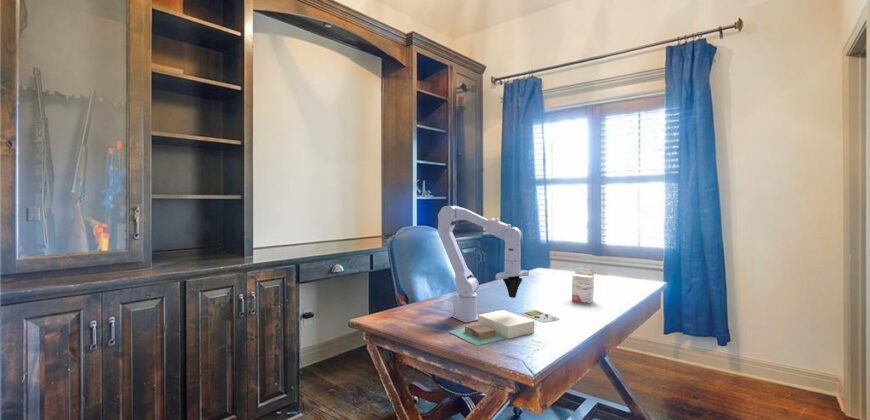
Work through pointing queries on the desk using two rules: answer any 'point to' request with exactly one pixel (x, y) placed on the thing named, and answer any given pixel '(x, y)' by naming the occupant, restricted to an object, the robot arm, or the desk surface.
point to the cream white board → (507, 323)
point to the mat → (475, 340)
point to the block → (480, 331)
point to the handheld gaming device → (539, 316)
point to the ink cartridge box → (583, 285)
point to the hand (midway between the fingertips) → (512, 297)
